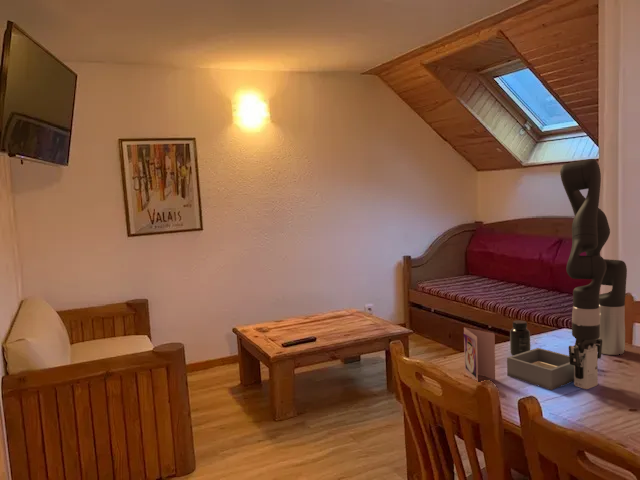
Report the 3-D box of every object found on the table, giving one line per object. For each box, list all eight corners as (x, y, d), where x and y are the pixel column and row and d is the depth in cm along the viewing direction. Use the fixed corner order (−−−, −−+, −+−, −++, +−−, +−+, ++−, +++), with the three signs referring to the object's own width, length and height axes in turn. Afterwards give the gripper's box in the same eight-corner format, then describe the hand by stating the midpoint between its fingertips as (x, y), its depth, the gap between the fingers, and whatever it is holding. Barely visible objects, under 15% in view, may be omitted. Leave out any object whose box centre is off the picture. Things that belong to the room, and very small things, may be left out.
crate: (538, 364, 183) (538, 347, 183) (582, 377, 170) (582, 359, 169) (507, 375, 175) (507, 357, 174) (551, 390, 161) (551, 370, 161)
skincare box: (587, 390, 160) (587, 350, 159) (573, 385, 164) (573, 346, 163) (598, 384, 163) (598, 346, 162) (584, 380, 167) (584, 342, 166)
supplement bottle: (532, 352, 196) (532, 320, 195) (528, 358, 190) (528, 325, 189) (512, 350, 200) (512, 318, 199) (508, 355, 194) (507, 323, 193)
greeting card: (462, 371, 180) (461, 327, 179) (483, 369, 181) (483, 326, 180) (475, 383, 169) (474, 336, 168) (497, 381, 170) (497, 335, 168)
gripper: (587, 315, 169) (587, 367, 170) (559, 323, 161) (559, 377, 163) (611, 319, 162) (611, 373, 164) (583, 328, 155) (583, 384, 156)
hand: (585, 375), depth 163 cm, fingers closed on skincare box, 6 cm apart
